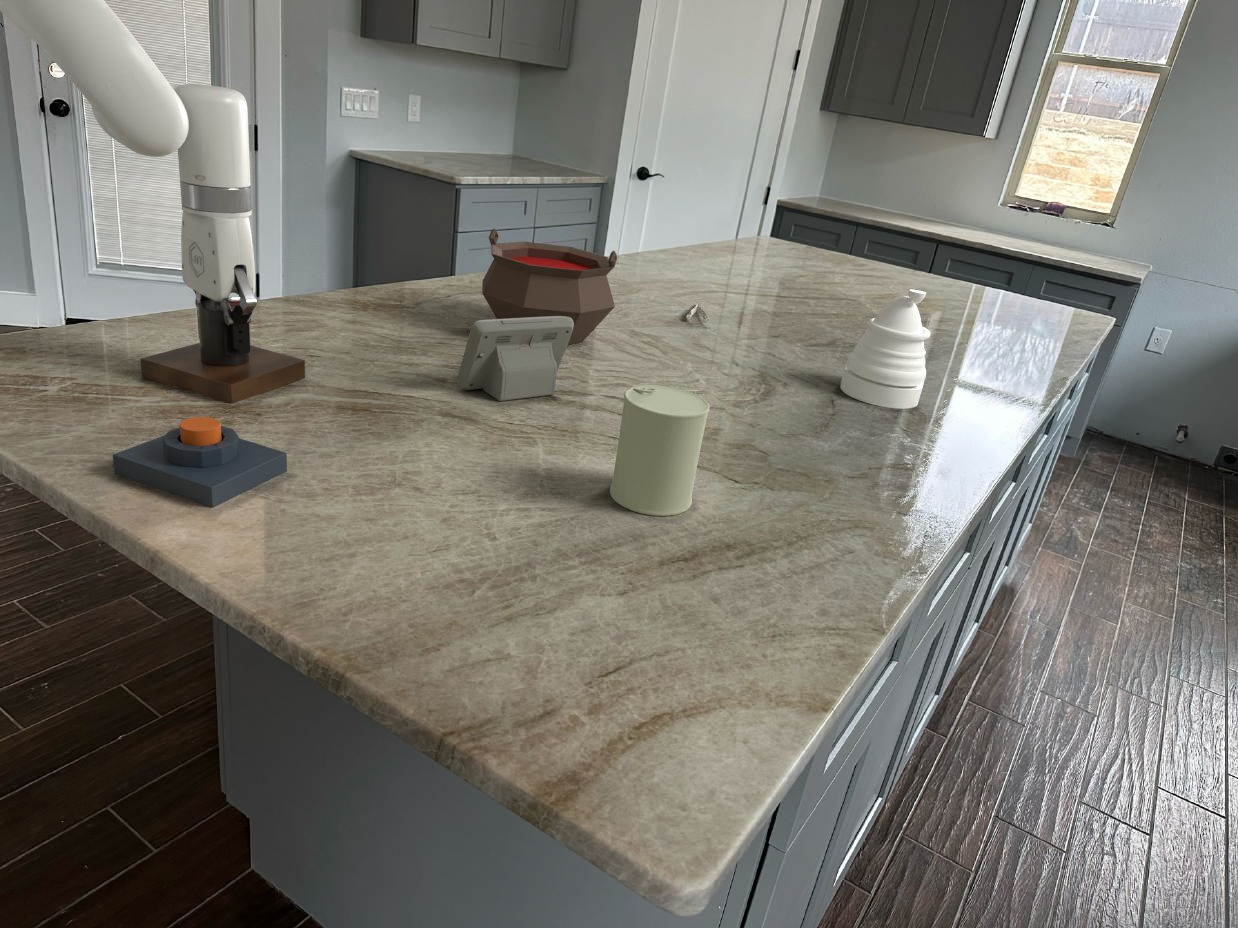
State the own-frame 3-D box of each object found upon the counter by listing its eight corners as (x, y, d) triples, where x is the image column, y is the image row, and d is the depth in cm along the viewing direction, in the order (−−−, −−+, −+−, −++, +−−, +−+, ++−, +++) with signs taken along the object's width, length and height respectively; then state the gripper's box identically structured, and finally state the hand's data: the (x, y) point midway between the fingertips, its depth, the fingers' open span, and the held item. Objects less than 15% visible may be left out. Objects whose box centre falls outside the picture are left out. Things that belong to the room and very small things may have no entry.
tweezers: (708, 326, 169) (710, 316, 169) (685, 322, 169) (686, 312, 169) (707, 311, 186) (708, 302, 185) (685, 308, 186) (686, 299, 185)
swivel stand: (141, 377, 105) (139, 358, 104) (221, 354, 117) (220, 337, 116) (231, 404, 102) (230, 385, 101) (305, 378, 113) (304, 360, 112)
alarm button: (172, 441, 82) (170, 424, 82) (201, 430, 86) (200, 414, 85) (201, 450, 81) (200, 433, 81) (229, 439, 85) (228, 422, 84)
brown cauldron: (626, 331, 157) (638, 242, 150) (590, 365, 135) (603, 262, 129) (504, 307, 161) (511, 219, 154) (450, 336, 139) (456, 235, 133)
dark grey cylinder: (213, 368, 105) (209, 310, 102) (192, 355, 108) (189, 298, 105) (257, 362, 109) (255, 306, 106) (236, 350, 112) (233, 295, 109)
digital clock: (555, 377, 127) (562, 308, 123) (578, 399, 120) (587, 326, 115) (448, 380, 120) (452, 306, 116) (466, 403, 113) (471, 325, 108)
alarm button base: (114, 475, 82) (110, 437, 81) (195, 442, 91) (193, 408, 89) (212, 509, 79) (210, 470, 77) (287, 472, 88) (286, 436, 86)
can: (639, 471, 100) (654, 375, 95) (706, 499, 96) (726, 399, 91) (592, 494, 93) (607, 390, 88) (663, 525, 88) (682, 418, 84)
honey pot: (934, 405, 141) (966, 299, 133) (881, 411, 134) (912, 299, 127) (876, 379, 150) (903, 278, 143) (824, 383, 143) (850, 278, 136)
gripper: (151, 186, 102) (163, 331, 110) (219, 213, 93) (227, 371, 100) (214, 187, 108) (221, 325, 115) (284, 213, 98) (287, 362, 105)
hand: (224, 345), depth 107 cm, fingers closed on dark grey cylinder, 5 cm apart
